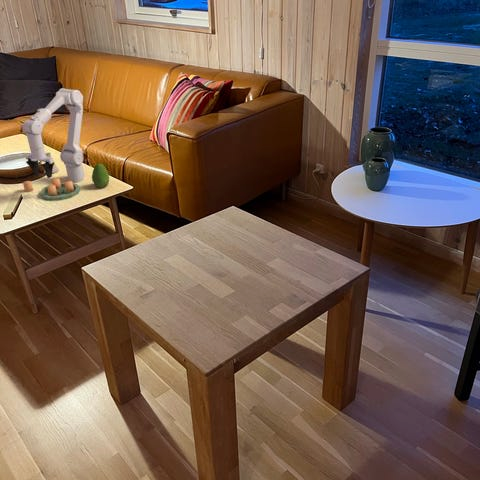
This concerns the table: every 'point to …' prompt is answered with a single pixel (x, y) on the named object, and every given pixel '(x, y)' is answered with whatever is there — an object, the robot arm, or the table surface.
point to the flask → (53, 166)
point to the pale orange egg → (52, 190)
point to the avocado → (100, 176)
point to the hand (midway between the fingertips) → (43, 176)
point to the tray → (60, 193)
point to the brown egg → (28, 186)
